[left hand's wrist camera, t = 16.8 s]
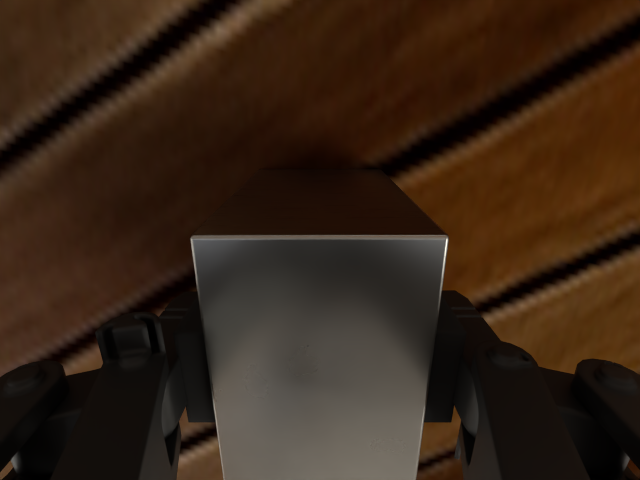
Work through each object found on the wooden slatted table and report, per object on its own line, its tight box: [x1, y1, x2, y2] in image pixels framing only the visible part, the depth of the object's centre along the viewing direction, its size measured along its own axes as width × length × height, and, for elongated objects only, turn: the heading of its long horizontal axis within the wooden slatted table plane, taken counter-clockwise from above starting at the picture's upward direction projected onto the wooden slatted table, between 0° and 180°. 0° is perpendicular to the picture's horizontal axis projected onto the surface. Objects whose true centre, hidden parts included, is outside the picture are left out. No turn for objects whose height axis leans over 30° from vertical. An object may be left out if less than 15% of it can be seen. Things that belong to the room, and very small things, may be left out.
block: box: [190, 169, 449, 480], centre depth 12 cm, size 5×7×8 cm
